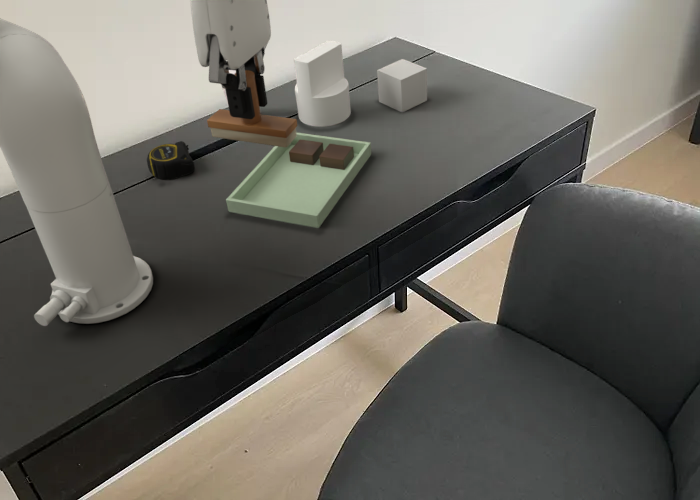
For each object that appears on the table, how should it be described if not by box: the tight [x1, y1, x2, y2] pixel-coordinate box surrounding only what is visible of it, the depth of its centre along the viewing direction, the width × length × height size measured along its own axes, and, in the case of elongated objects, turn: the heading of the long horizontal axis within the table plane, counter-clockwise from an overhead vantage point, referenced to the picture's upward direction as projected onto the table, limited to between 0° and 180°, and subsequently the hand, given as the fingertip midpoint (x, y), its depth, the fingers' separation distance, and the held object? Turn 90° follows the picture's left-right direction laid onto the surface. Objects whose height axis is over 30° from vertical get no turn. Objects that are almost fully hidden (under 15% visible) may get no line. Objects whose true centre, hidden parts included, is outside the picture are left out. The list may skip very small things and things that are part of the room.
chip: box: [319, 144, 354, 170], centre depth 114 cm, size 4×4×2 cm
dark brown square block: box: [289, 140, 324, 165], centre depth 116 cm, size 4×4×2 cm
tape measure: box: [146, 140, 196, 181], centre depth 117 cm, size 7×7×4 cm
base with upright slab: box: [293, 39, 352, 128], centre depth 125 cm, size 9×9×12 cm
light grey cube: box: [376, 58, 428, 113], centre depth 129 cm, size 6×6×6 cm
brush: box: [206, 70, 298, 147], centre depth 92 cm, size 3×11×8 cm, turn 68°
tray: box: [225, 131, 372, 229], centre depth 111 cm, size 20×14×3 cm
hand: (249, 109), depth 92 cm, fingers closed on brush, 2 cm apart
